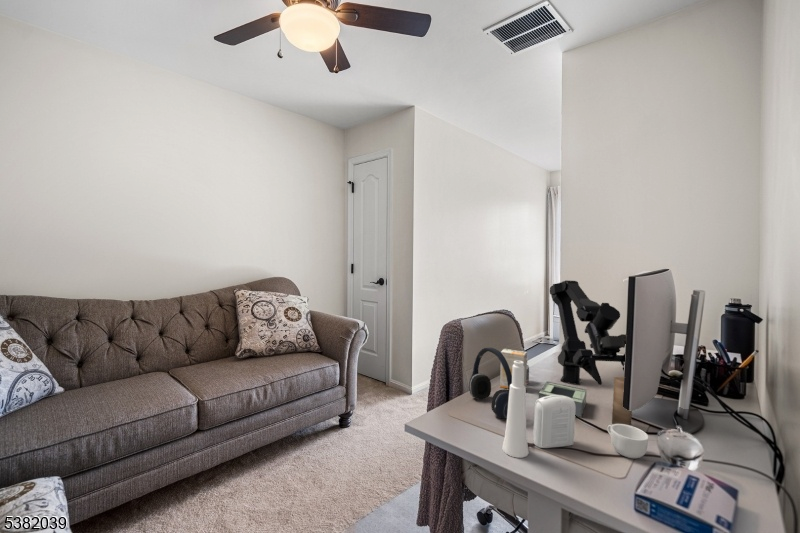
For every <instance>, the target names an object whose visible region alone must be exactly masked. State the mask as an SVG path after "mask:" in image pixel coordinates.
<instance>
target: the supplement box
mask: <svg viewBox="0 0 800 533" xmlns="http://www.w3.org/2000/svg"><path fill="white" fill-rule="evenodd" d="M500 352H501V353H502V354H503V356H504V357H505V359H506V361H507V363H508V365H509V368H510V371H511V375H512V366H513V365H514V361H516V360H518V361H522V362H524V364H523V366H524V367H525V370H524V386H525V387H526V388H527V384H526V373H527V365H528V352H527V351H523V350H515V349H509V348H503V349H502V350H501V351H500ZM499 373H500V377H499V378H500V381H499V383H500V385H499V387H500V388H502V389H507V390H508V382H507V377H506V373H505V371H504V368H503V366H502V363H501V362H500V372H499Z"/></svg>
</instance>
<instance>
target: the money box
mask: <svg viewBox="0 0 800 533" xmlns="http://www.w3.org/2000/svg"><path fill="white" fill-rule="evenodd" d="M550 395H563V396H567V397H570V398H571V399H573V400H574V402H575V406H576V412H575V415H576V416H577V418H581V419H582V416H583V413H584V410H585V406H586V405H587V389H585V388H579V387H577V386H572V385H571V386H570V385H566V384H561V383H558V382H557V383H556V382H552V381H546V382H545V384H544V385H543V387H541V389H540V390H539V392H538V399H540V398H542V397H546V396H550ZM576 416H575V417H576Z"/></svg>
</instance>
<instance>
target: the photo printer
mask: <svg viewBox="0 0 800 533" xmlns="http://www.w3.org/2000/svg"><path fill="white" fill-rule="evenodd" d="M575 412H576V406H575V402H574V400H573V399H571V398H570V397H567V396H563V395H550V396H546V397H542V398H540V399H539V398H538V399H536V401H535V403H534V414H533V415H534V416H533V431H532V432H533V433H532V439H533V444H534V445H535V446H536V447H537V448H541V449H550V448H561V447H569V446H573V445H574V442H575V425H576V416H575Z"/></svg>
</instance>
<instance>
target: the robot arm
mask: <svg viewBox="0 0 800 533" xmlns="http://www.w3.org/2000/svg"><path fill="white" fill-rule="evenodd" d="M579 284H580V283H579V282H578V281H577V280H568V279H567V280H563V281H561V282H557V283H553V284H552V285H551V286H550V287H549V294H550V296H551V300H552V302H553V303H554V304H556V306H557V309H558V313H559V318H560V323H561V329H562V334H563V338H564V341H563V343H562V345H561V351H560V353H558V356H557V362H558V364H559V365H561V366H562V376H561V378H560V382H563V383H568V384H573V385H576V386H577V385H578V386H580V384H581V383H582V378H580V376H581V375H580V374H581V369H583V370H584V371H585V372H586V373H588V375H589V376H590V377H592V379H593V380H594V381H595V382H596V383H597V384H598V385H599V386H601V385H603V382H602V378H601V376H600V373H599V369H598V367H597V364H596V362H614V363H615V362H616V363H617V362H618V363H621V365H622V366H623V367H622V371H623V372H624V365H625V353H624V354H623V355H622V354H618V353H620V351H621V348H623V349H625V348H626V346H625V344H626V335H627V333H626V334H625V333H624V334H619V335H610V333H609V330H612V328H613V327H614V326H615V324H616V323H617V322H618V320H619V319H620V318H621V313H620V311H619V309H616V308H615V307H614V306H612V305H610V303H609V302H602V303H601V304H599V303H598V302H597V301H594V300H591V299H590V298H589V297H588V295H587V294H586V293H585V291H584V290H583V289H582V288H581V287H580V285H579ZM572 303H573V304H574V305H575V306H576V316H577V318H578V319H579V321H580V322H581V323H582V322H583V323H584V322H586V323H587V322H588V323H587V324H586V326H585V329H584V334H588V338H589V341H590V344H589V347H590V348H591V349H592V350H591V349H588V348H587V347H586V346H587V344H586V342H585V341H584V340H581V339H580V338H579V336H578V331H577V327H576V323H575V317H574V313H573V312H574V311H573V307H572ZM593 351H594V353H593Z"/></svg>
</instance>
